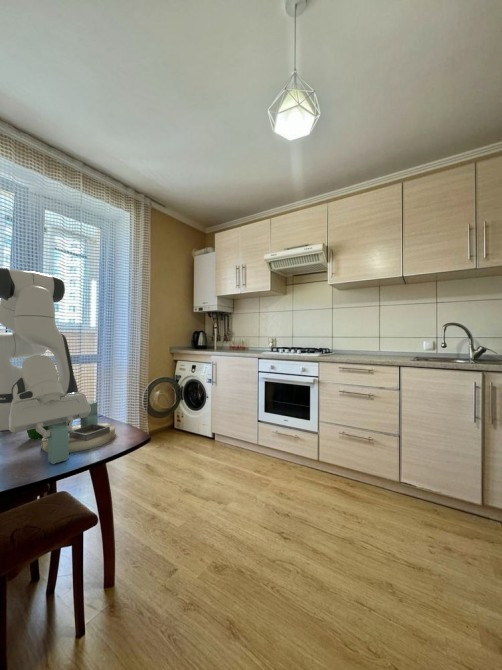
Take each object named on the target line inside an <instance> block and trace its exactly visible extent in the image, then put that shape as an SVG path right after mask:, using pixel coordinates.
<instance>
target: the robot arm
mask: <svg viewBox="0 0 502 670" xmlns="http://www.w3.org/2000/svg"><path fill="white" fill-rule="evenodd" d="M65 287H66V286H65V283H64V280H62V278H61V277H58V276H55V275H52V274H51V275H49V274H45V273H42V272H41V273H40V272H36V271H30V270H29V271H27V270H21V269H20V270H19V269H10V268H7V267H0V325H1V326H3V327H4V328H6V329H9V330H11V331H12V332H0V432H1V431H9V432H11V433H13V434H17V433H20V432H25V431H26V432H27V430H31V429H35V428H36V431H37V432H38V433H40V434H41V435H43V438H42V439H44V440H45V439H49V438H50V437H51V433H50V430H48V431H46V430H45V429H44V428H43V427H44V426H49V425H53V424H58V423H62V422H66V423H67V424H69V425H68V426H66V428H68V433H72V426H73V425H72V424H73V422H74V421H75V420H80V418H85V417H87V416H88V415H89V413H90V411H91V407H90V405H89V403H88V402H89V401H88V399H87V396H86V394H85V393H83V392H79V388H78V387H79V386H78V383H77V380H76V377H75V373H74V368H73V363H72V358H71V353H70V349H69V344H68V340H67V338H66V336H65V334H63V333H62V332H60V331H59V329H58V327H57V325H56V313H55V312H56V310H55V303H59V302H61V301H62V300H63V298H64V296H65V293H66V288H65ZM47 350H48V351H50V352H51V354H53V356H54V361H55V363H54V362H53V360H52V359H51V358H50V357H49V356H48V355H44V354H45V353H46V351H47ZM11 359H24V360H23V361H22V363H21V367H20V366H17V365H13V364H12V362H11ZM55 365H56V366H55Z"/></svg>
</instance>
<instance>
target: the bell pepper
mask: <svg viewBox="0 0 502 670" xmlns="http://www.w3.org/2000/svg"><path fill="white" fill-rule="evenodd" d="M43 428H44V429H45V430H46V431H48V426H44V427H43ZM26 434H27V436H28V438H29V439H30V440H32V441H37V440H40V439H41V440H42V439H43V435H41V434H40V433H38V432H37V431H36V428H35V429H31V430H26Z"/></svg>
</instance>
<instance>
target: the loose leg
mask: <svg viewBox="0 0 502 670" xmlns="http://www.w3.org/2000/svg"><path fill="white" fill-rule="evenodd" d="M48 430H50V433H51V437H50V438H49V439H48V452H47V461H48V462H49V463H50V464H52V465H54V464H58V463H61V462H63V461H64V462H65V461H67V460H69V455H70V453H69V449H68V428H66V427H64V426H61V427H57V428H52V429H48Z"/></svg>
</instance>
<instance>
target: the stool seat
mask: <svg viewBox="0 0 502 670" xmlns="http://www.w3.org/2000/svg"><path fill="white" fill-rule="evenodd" d="M88 403H89V405H90V407H91V411H90V413H89V415H88V416H87V417H85V418H80V419H79V420H80V424H77V425H71V426H72V433H68V449H69V454H70V453H77V452H81V451H86V450H87V451H88V450H89V449H93V448H96V447H97V448H98V447H99V446H100V447H101V446H102V445H104V444H106V443H109V442H110V441H112V440H113V439H114V438H115V437H116V427H115V425H113V424H112V423H111V424H110V423H105V422H98V421H99V420H98V402H96V401H88ZM61 426H64V427H66V426H68V424H67V423H66V422H62V423H58V424H53V425H49V426H48V429H52V428H57V427H61ZM41 450H42V451H43V452H45V453H48V439H45V440H44V439H43V438H41Z"/></svg>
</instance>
